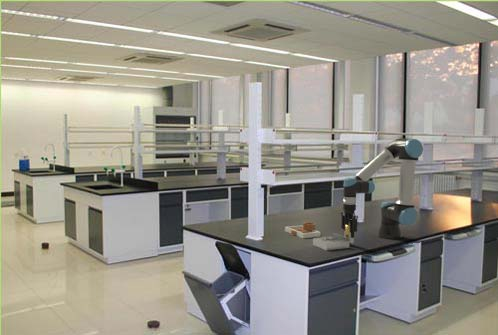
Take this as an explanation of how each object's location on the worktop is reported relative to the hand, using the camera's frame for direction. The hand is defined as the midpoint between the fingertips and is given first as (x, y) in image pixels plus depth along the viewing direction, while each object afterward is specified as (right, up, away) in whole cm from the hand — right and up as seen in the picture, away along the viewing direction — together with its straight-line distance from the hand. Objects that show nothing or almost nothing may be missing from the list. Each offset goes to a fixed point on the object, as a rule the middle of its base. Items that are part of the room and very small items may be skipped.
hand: (348, 241), depth 266 cm
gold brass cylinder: (0, -2, 0) cm, 2 cm away
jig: (-12, -2, -4) cm, 12 cm away
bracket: (-24, 0, +30) cm, 38 cm away
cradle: (-25, 0, +30) cm, 38 cm away
